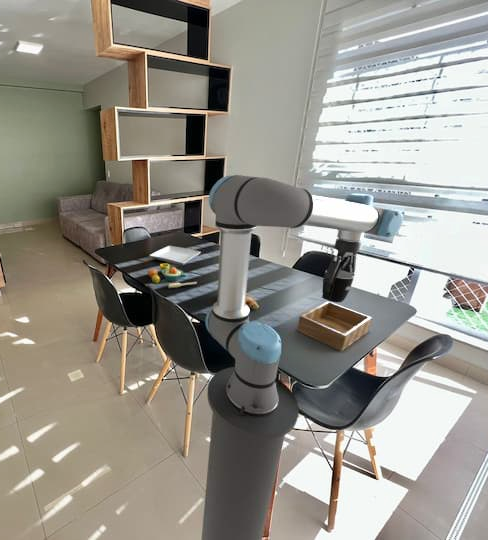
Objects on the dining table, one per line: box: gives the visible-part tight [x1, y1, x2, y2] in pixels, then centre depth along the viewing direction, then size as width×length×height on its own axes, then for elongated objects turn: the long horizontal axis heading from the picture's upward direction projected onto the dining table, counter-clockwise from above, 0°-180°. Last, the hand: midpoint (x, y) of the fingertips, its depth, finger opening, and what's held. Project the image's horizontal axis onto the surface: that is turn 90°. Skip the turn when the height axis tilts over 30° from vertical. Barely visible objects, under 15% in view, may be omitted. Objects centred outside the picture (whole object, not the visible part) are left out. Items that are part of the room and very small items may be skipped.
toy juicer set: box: [148, 262, 198, 289], centre depth 164 cm, size 29×18×8 cm, turn 36°
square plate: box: [149, 245, 202, 266], centre depth 202 cm, size 27×27×4 cm
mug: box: [321, 269, 355, 303], centre depth 107 cm, size 12×9×10 cm
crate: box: [296, 300, 373, 352], centre depth 116 cm, size 22×17×7 cm
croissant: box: [245, 294, 259, 310], centre depth 139 cm, size 21×10×8 cm, turn 45°
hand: (334, 294), depth 109 cm, fingers closed on mug, 12 cm apart
